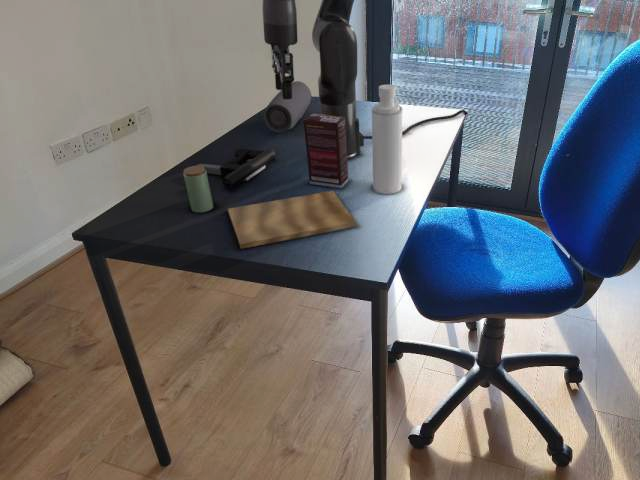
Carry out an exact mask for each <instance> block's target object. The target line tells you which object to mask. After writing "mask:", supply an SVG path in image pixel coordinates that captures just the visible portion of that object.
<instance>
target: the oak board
mask: <svg viewBox="0 0 640 480" xmlns="http://www.w3.org/2000/svg"><path fill="white" fill-rule="evenodd" d="M227 213H228V216H229V220H230V222H231V225H232V227H233V231H234V235H235V236H236V239H237V242H238V246H239V248H240V249H241V250H243V249H248V248H254V247H258V246H263V245H268V244H273V243H278V242H284V241H290V240H294V239H299V238H305V237H310V236H313V235H319V234H325V233H332V232H336V231H341V230H347V229H351V228H356V226H357V225H356V223H357V222H356V220H355V219H354V218H353V216H352V215H351V213H350V212H349V211H348V209H347V207H345V205H344V204H343V202H342V201H341V199H340V198H339V197H338V196H337V194H336V193H335V191H334V190H329V191H322V192H317V193H312V194H311V193H310V194H306V195H300V196H299V195H298V196H293V197H288V198H282V199H276V200H270V201H265V202H259V203H254V204H252V203H251V204H247V205H242V206H241V205H240V206H236V207H230V208H227Z"/></svg>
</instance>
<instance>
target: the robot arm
mask: <svg viewBox="0 0 640 480" xmlns="http://www.w3.org/2000/svg"><path fill="white" fill-rule="evenodd" d="M354 2H355V0H321V3H320V6H319V9H318V11H317V15H316V17H315V20H314V24H313V27H312V31H311V39H312V44H313V46H314V48H315V49H316V51H317V52H318V53H319V65H320V66H319V67H320V68H319V69H320V71H319V72H320V74H319V76H318V77H317V87H318V100H319V102H318V103H319V114H323V115H333V116H342V117H345V126H346V145H347V160H351V159H353V158H355V157H357V156H361V147H364V146H365V140H372V135H364V134H363V133H362V132H360V120H359V118H358V117H357V97H356V96H357V94H356V80H357V79H358V78H357V77H358V38H357V35H356V31H355V29H354V27H352V25H351V24H350V19H351V15H352V10H353V6H354ZM296 4H297V3H296V0H262V24H263V38H264V42H265V44H267V45H270V49H271V50H270V51H271V68H272V69H273V70H272V71H273V74H274V82H275V89H276V90H277V91H281V90H282V97H283V99H292V82H295V73H294V71H295V70H294V55H293V53H292V52H290V48H289V47H290V46H294V45H297V44H298V41H299V40H298V15H297V13H298V12H297V5H296ZM286 74H287V75H286ZM461 114H464V115H469V112H468V111H467V110H465V109H460V110H458V111H457V112H455V113H453V114H450V115H443V116H436V117H431V118H426V119H423V120H420V121H418V122H416V123H413V124H411V125H409V126H407V128H406V129H405V130H402V137H403V136H405V135H406V134H407V133H409V132H410V131H411V130H412V129H414V128H416V127H419V126H421V125H423V124H426V123H430V122H435V121H441V120H449V119H453V118H456V117H457V116H459V115H461Z"/></svg>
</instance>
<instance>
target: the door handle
mask: <svg viewBox="0 0 640 480" xmlns="http://www.w3.org/2000/svg"><path fill="white" fill-rule="evenodd" d="M234 156H235V157H234V158H232V159H231V160H229V161H227V162H226V163H224V164H222V165H217V164H209V163H208V164H207V163H199V164H196V166H202V167H204V168H205V170H206V172H207V174H209V175H217V176H221V178H222V180H221V181H222V183H221V184H222V185H223V186H224V188H226V189H231V188H235V187H236V186H238V185H239V184H240V183H242V182H243V181H247V182H248V181H249V180H250V179H252V178H253V177H254V176H256V175H257V174H259V173H260V172H262V171H263V170H265V169H266V166H267V165H269V163H271V162H273V161H275V160H276V159H275V158H276V152H275V151H274V150H273V149H270V148H269V149H268V148H267V149H264V150H263V149H253V148H243V147H240V148H237V149H235V152H234Z"/></svg>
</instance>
